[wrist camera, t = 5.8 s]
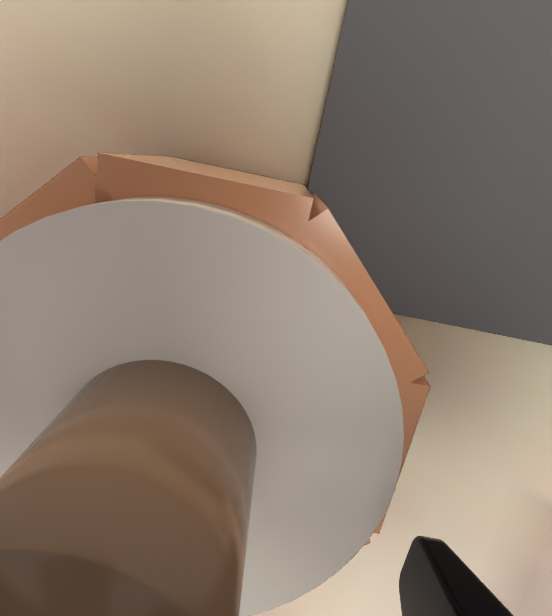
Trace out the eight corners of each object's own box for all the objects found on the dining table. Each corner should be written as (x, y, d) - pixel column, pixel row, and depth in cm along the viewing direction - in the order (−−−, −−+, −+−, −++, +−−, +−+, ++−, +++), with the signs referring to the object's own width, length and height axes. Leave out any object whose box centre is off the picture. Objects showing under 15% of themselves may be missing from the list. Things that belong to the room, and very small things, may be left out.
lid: (449, 249, 8) (685, 374, 3) (335, 610, 11) (373, 962, 6) (-53, 150, 8) (-601, 130, 3) (-37, 547, 10) (-307, 865, 6)
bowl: (410, 207, 13) (483, 234, 8) (328, 489, 16) (345, 630, 11) (60, 133, 12) (-84, 114, 8) (46, 437, 15) (-62, 559, 11)
